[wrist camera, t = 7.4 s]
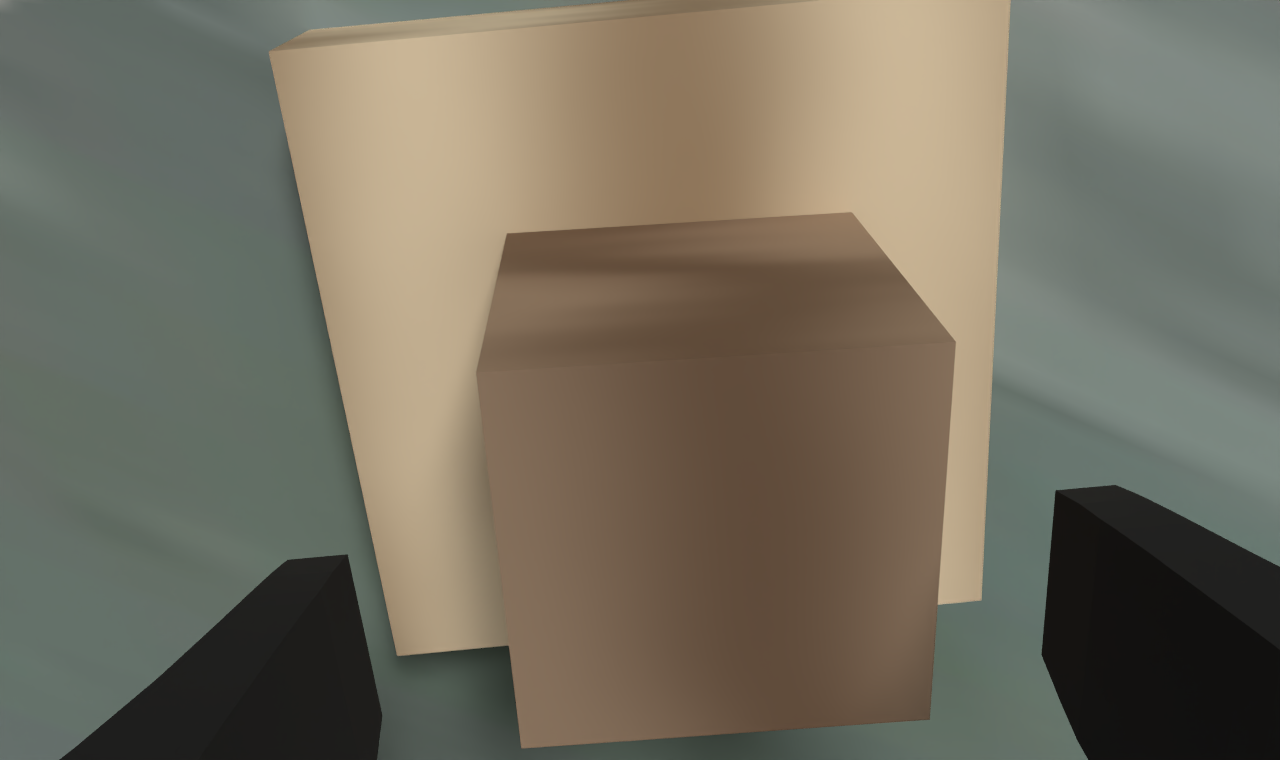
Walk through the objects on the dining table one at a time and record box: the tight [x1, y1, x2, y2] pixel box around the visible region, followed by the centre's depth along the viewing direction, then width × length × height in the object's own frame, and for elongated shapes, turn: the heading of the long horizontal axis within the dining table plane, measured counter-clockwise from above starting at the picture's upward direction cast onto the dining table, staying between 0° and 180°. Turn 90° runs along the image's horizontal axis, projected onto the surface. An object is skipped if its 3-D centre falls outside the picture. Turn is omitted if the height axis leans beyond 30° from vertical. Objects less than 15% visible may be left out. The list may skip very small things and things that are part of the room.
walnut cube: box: [476, 212, 956, 748], centre depth 15 cm, size 5×5×5 cm
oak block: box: [269, 0, 1010, 656], centre depth 18 cm, size 10×10×3 cm
